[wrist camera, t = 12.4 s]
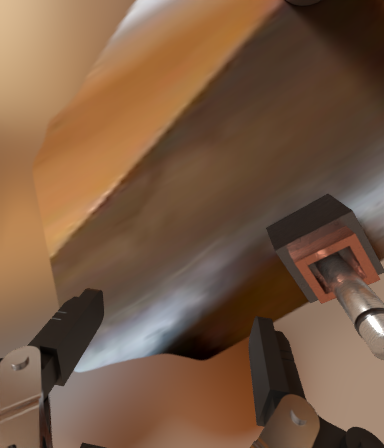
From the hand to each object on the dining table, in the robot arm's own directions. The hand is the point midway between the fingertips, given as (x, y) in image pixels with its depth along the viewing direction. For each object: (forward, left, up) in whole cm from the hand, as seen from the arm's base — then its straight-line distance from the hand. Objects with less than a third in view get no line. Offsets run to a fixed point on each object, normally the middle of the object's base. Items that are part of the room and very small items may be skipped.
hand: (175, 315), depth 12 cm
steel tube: (-9, +18, -22) cm, 30 cm away
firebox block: (-9, +18, -30) cm, 36 cm away
